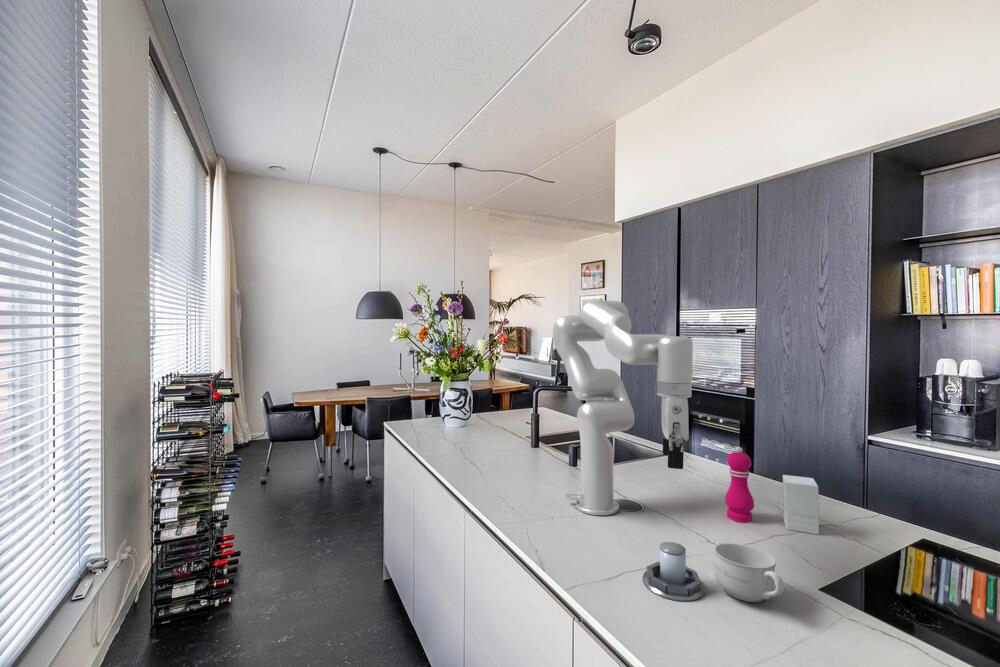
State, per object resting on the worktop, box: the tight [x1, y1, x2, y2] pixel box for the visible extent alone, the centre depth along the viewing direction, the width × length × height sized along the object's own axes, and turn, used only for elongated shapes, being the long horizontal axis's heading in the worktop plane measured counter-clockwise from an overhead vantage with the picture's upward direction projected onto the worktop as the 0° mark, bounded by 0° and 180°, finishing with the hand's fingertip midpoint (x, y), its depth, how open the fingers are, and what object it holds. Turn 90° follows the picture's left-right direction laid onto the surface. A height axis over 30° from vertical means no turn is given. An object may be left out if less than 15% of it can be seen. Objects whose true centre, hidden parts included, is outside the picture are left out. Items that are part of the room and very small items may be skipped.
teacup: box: [713, 542, 785, 603], centre depth 87 cm, size 14×11×8 cm
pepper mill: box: [724, 446, 755, 524], centre depth 124 cm, size 7×7×20 cm
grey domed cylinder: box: [659, 541, 687, 586], centre depth 92 cm, size 5×5×7 cm
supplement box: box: [782, 474, 820, 535], centre depth 118 cm, size 7×7×13 cm
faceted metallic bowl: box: [642, 560, 706, 602], centre depth 91 cm, size 12×12×2 cm
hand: (672, 461), depth 104 cm, fingers open, 9 cm apart
